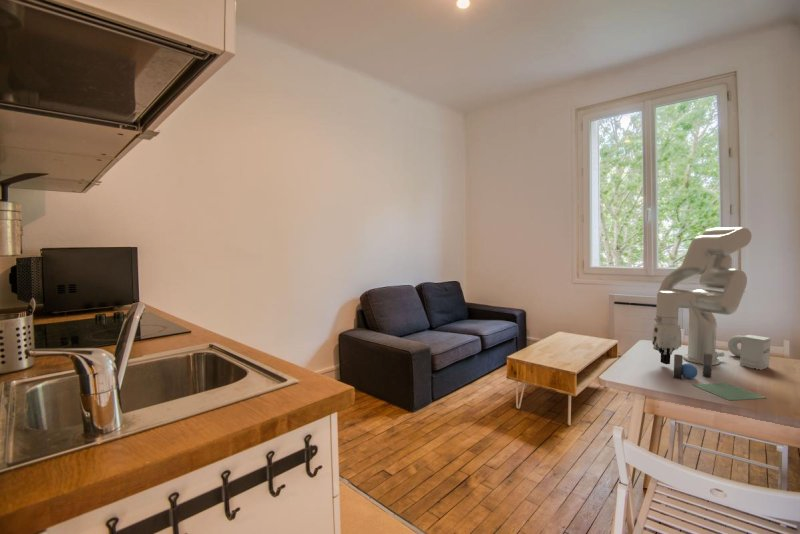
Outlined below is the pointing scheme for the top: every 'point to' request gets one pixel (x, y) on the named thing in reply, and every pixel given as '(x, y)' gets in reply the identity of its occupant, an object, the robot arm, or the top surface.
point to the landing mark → (728, 391)
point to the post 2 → (707, 365)
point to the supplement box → (755, 351)
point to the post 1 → (678, 366)
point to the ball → (689, 371)
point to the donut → (734, 345)
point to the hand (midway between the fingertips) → (665, 363)
